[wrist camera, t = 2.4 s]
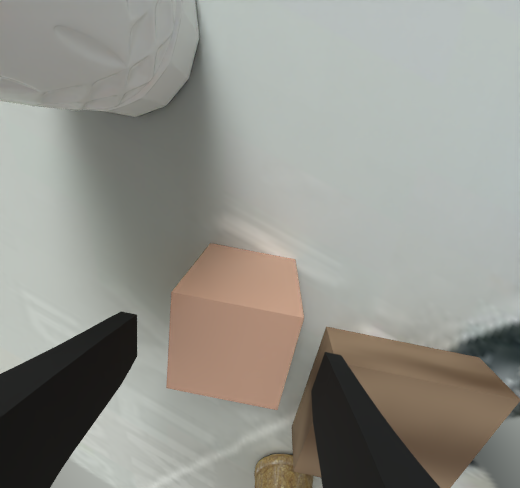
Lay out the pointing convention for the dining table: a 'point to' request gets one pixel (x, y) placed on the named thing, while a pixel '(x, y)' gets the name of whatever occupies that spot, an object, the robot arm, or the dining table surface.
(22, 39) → the white cup
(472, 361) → the walnut box
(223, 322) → the terracotta block
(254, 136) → the dining table surface
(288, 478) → the sprinkles bottle
